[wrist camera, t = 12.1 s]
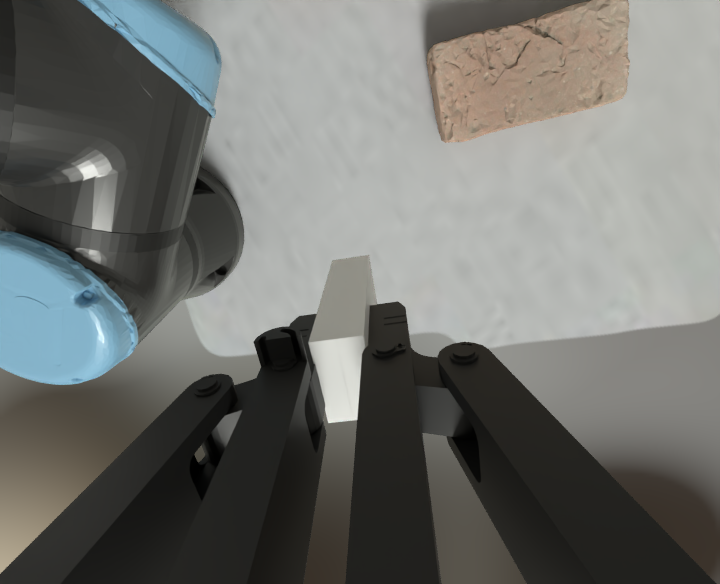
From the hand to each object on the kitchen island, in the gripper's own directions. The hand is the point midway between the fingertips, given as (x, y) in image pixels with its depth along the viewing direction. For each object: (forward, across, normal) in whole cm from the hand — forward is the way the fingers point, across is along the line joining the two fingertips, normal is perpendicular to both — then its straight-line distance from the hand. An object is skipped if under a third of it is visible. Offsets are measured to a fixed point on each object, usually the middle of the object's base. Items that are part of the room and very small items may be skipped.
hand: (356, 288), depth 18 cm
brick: (+30, +15, +7) cm, 34 cm away
